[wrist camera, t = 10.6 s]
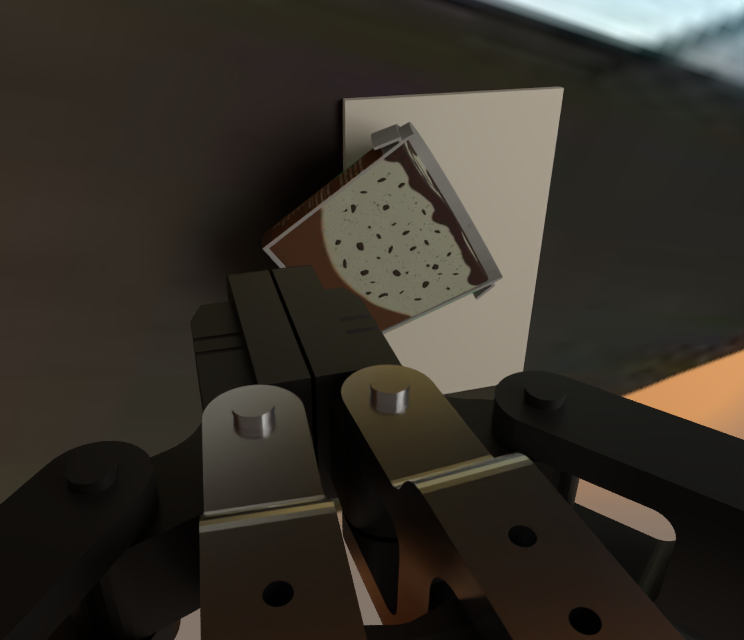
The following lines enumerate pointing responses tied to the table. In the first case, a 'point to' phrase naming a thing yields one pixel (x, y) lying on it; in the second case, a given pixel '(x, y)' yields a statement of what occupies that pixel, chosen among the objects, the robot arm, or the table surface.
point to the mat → (476, 218)
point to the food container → (389, 233)
